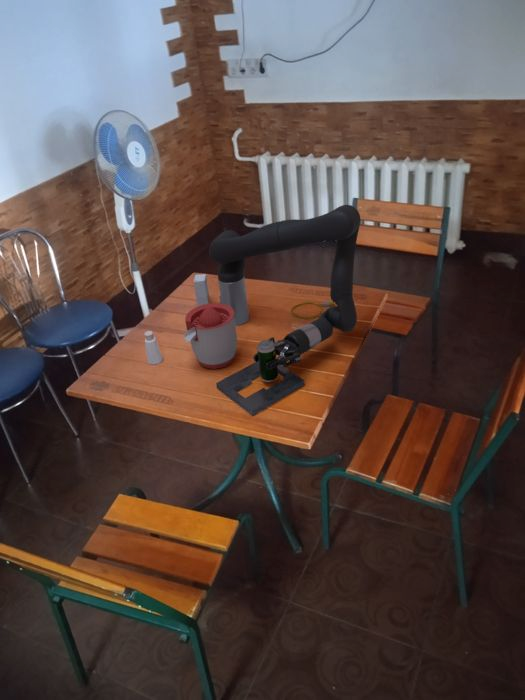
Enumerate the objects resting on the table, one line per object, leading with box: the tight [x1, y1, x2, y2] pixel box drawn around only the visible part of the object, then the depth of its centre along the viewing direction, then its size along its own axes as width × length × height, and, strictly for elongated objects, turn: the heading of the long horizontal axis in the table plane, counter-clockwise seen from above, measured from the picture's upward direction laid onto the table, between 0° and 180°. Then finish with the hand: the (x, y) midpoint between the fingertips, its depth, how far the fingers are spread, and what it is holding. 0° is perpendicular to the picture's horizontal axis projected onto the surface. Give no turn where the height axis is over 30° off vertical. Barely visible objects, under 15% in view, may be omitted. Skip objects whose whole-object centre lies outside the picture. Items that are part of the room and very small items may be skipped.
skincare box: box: [193, 273, 211, 307], centre depth 213 cm, size 6×4×12 cm
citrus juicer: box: [183, 302, 238, 370], centre depth 179 cm, size 16×17×20 cm
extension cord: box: [290, 301, 335, 320], centre depth 205 cm, size 12×16×2 cm
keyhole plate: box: [215, 361, 305, 417], centre depth 170 cm, size 20×18×2 cm
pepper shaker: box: [143, 330, 164, 366], centre depth 185 cm, size 5×5×11 cm
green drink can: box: [256, 339, 279, 383], centre depth 168 cm, size 5×5×12 cm
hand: (260, 362), depth 166 cm, fingers closed on green drink can, 5 cm apart
